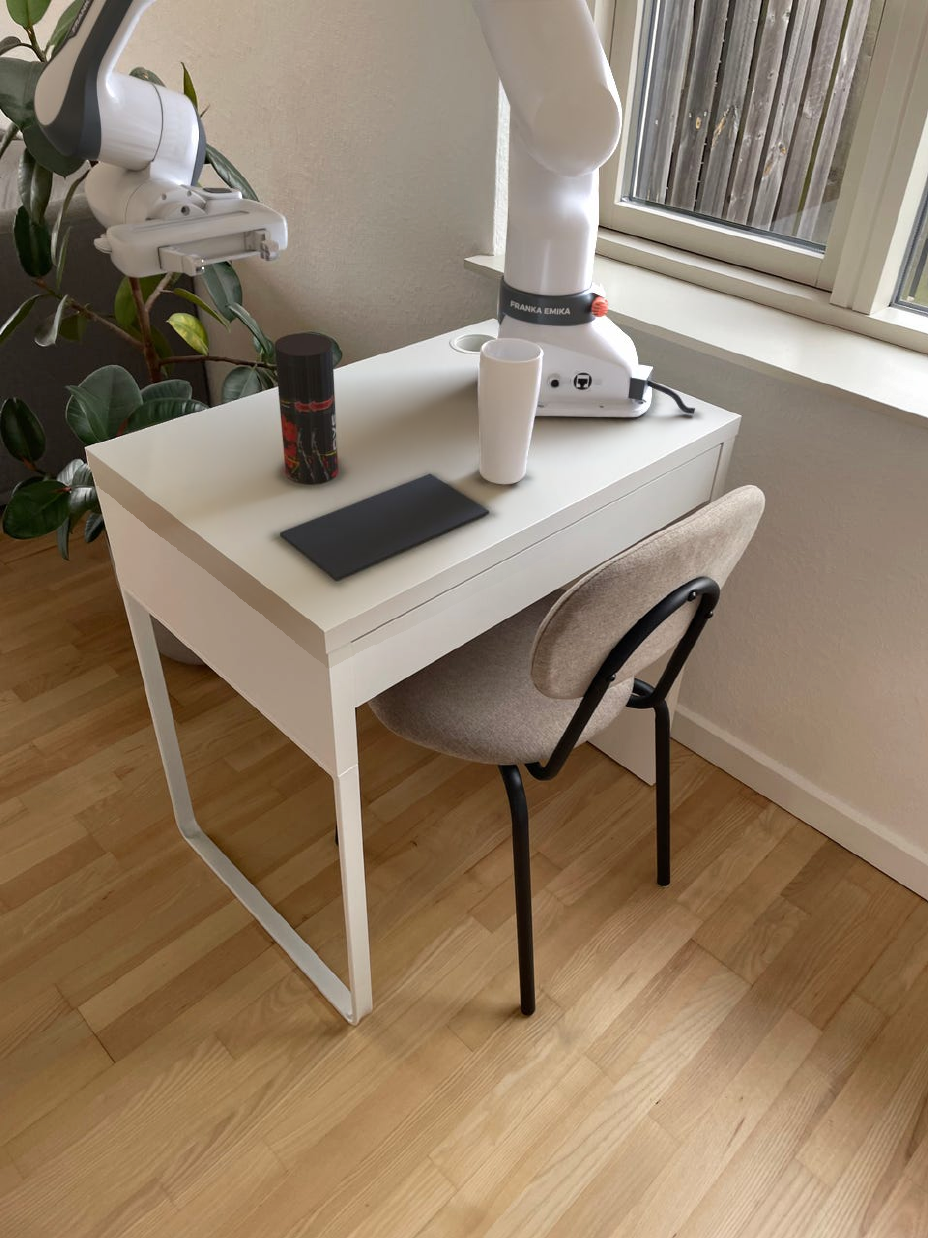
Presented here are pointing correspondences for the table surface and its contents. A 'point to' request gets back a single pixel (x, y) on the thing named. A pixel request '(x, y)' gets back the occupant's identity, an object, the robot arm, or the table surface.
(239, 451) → the table surface
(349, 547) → the mat
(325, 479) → the deodorant
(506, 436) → the drinking glass
